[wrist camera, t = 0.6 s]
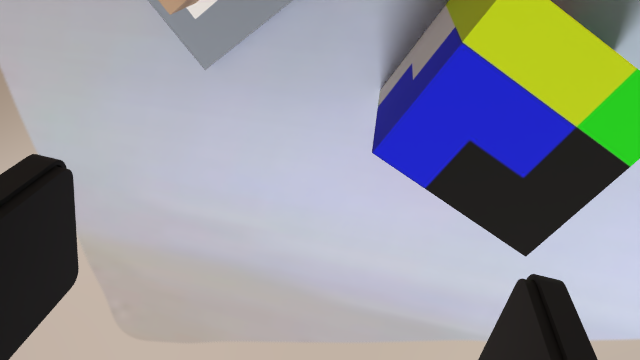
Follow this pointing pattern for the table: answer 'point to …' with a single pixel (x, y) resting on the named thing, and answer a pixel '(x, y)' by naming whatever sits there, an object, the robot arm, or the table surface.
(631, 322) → the table surface
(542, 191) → the puzzle toy
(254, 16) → the build mat
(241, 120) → the table surface
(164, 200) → the table surface
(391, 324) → the table surface
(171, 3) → the base block
